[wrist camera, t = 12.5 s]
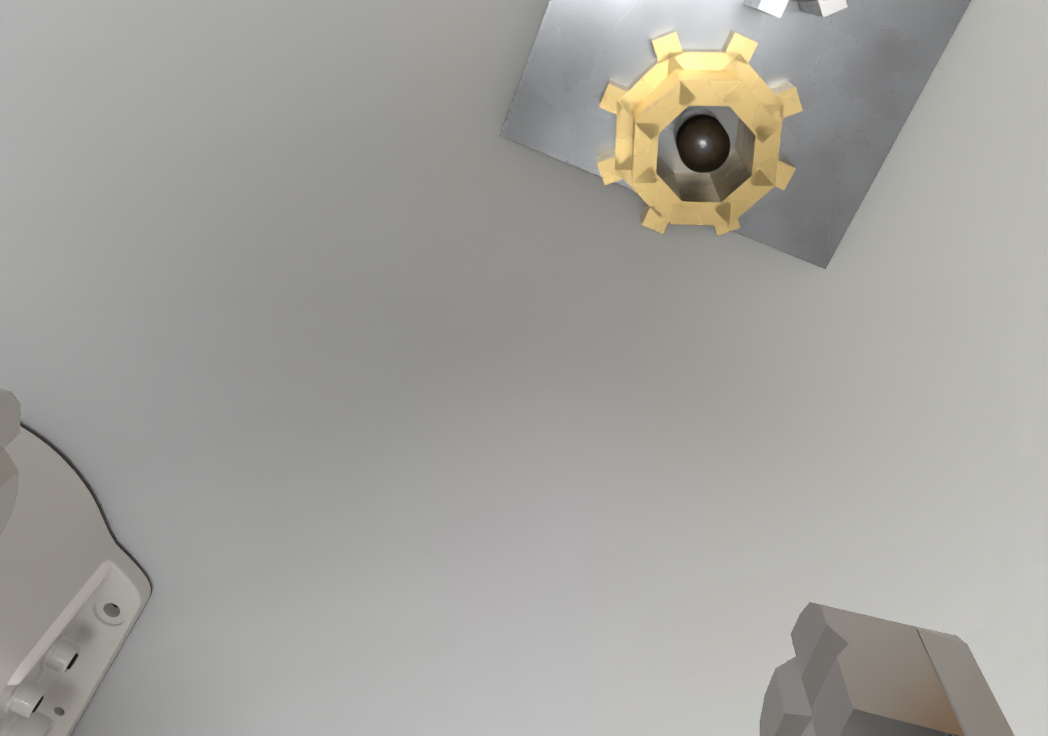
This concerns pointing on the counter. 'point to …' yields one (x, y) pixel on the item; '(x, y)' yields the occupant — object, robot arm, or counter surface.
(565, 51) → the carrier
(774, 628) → the counter surface
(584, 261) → the counter surface
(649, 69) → the gear
